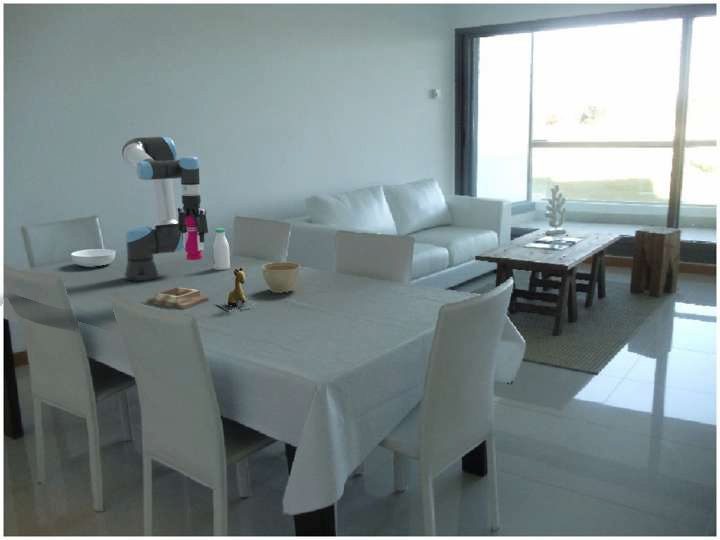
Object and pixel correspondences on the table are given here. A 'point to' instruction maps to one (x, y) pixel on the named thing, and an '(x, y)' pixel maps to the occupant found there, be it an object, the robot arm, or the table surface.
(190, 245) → the pepper mill
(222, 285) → the table surface
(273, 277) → the planter bowl
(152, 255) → the robot arm
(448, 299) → the table surface
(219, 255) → the milk bottle
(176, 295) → the holder board
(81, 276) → the table surface
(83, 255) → the serving bowl
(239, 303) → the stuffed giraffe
